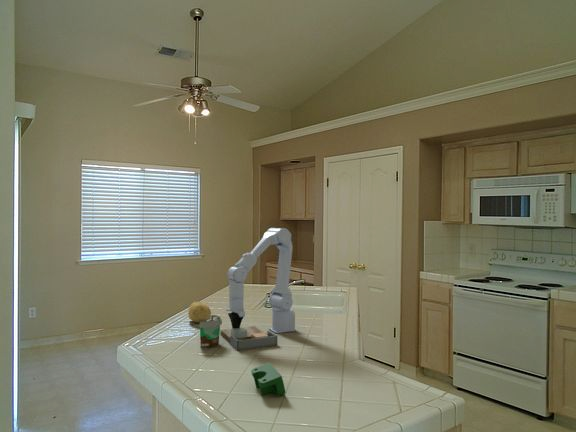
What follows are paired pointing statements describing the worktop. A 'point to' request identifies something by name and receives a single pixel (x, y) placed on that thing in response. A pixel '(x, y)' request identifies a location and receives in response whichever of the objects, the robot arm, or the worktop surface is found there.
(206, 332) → the food container
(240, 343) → the tray
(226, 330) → the walnut board
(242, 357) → the worktop surface
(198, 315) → the potato
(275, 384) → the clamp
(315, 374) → the worktop surface
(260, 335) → the terracotta tile
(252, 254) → the robot arm
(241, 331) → the pale blue block
